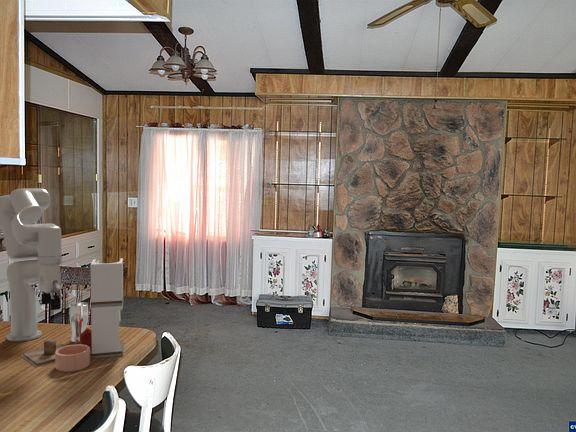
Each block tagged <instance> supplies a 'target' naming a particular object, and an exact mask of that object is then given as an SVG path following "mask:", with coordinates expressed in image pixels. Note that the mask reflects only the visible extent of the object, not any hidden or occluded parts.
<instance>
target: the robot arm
mask: <svg viewBox="0 0 576 432" xmlns="http://www.w3.org/2000/svg"><path fill="white" fill-rule="evenodd" d="M50 205H51V196H50V194H49V192H48V191H47V190H46V189H44V188H41V187H40V188H38V187H35V188H33V187H31V188H30V187H29V188H27V187H26V188H25V187H23V188H16V189H13V190H12V191H11V192H10V193H9V194H5V195H1V196H0V228H1V231H2V236H3V240H4V244H5V245H4V246H5V250H6V251H5V252H6V254H7V257H8V258H9V259H11V260H14V262H11V263H10V264H8V266H7V268H6V278H7V282H8V287H9V289H8V291H9V302H10V303H9V304H10V305H9V310H10V333H9V334H7V336H6V340H8V341H9V342H25V341H26V342H27V341H30V340H34V339H35V340H36V339H38V338H40V337H41V336H42V331H41V330H40V329H38V305H37V304H38V303H37V299H38V298H37V292H36V291H35V290H34V288H33V287H32V286H30V284H34V283H38V289H39V290H40V293H41V297H40V298H41V305H42V306H43V305H50V311H56V310H57V311H58V310H61V308H62V307H61V303H62V302H61V300H62V299H61V297H62V296H61V295H62V293H61V291H62V277H61V265H62V264H63V263H62V262H63V259H62V258H63V256H62V254H63V253H62V228H61V227H60V226H57V225H56V224H55V223H36V222H38V221H39V220H40V219H41V218H42V215H43V212H44V211H46V210H47V209H48V208H49V207H50ZM17 260H19V261H17Z"/></svg>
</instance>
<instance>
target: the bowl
mask: <svg viewBox="0 0 576 432" xmlns="http://www.w3.org/2000/svg"><path fill="white" fill-rule="evenodd" d="M90 363H91V346H90V347H89V346H87V345H83V344H81V343H80V344H69V345H65V346H64V347H61V348H59V349H57V350H56V352H55V362H54V365H55V366H54V367H55V370H57V371H58V372H65V373H66V372H67V373H69V372H76V371H81V370H84V369H86V368H87V367H89V366H90Z"/></svg>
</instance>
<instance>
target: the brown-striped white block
mask: <svg viewBox="0 0 576 432" xmlns="http://www.w3.org/2000/svg"><path fill="white" fill-rule="evenodd" d="M123 308H124V258H121V257H120V258H119V261H117V262H110V263H109V262H108V263H102V262H101V263H98V262H97V259H96V258H94V259H93V260H92V261H91V263H90V309H91V310H90V311H91V313H90V315H91V316H90V317H91V323H90V325H91V330H92V345H91V359H100V358H110V357H120V356H122V357H123V356H124V348H125V345H124V343H125V342H124V340H122V341H121V340H120V323H121V311H122V310H123Z"/></svg>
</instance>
